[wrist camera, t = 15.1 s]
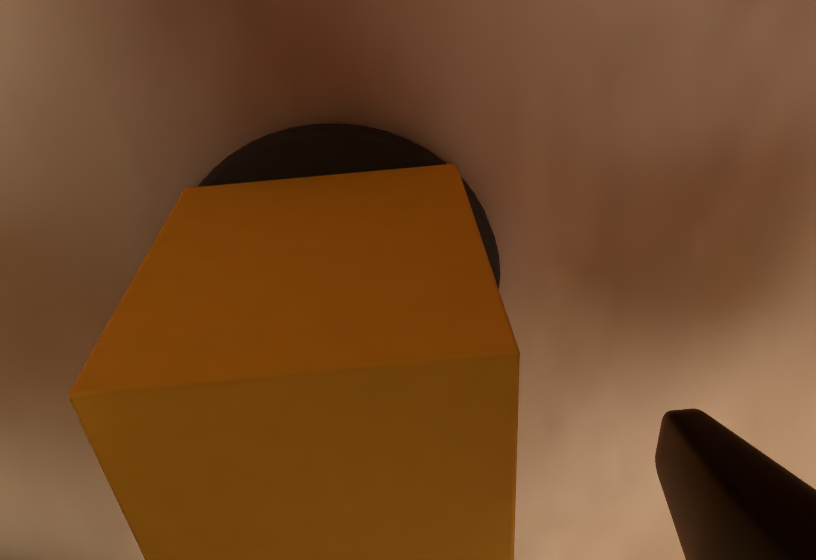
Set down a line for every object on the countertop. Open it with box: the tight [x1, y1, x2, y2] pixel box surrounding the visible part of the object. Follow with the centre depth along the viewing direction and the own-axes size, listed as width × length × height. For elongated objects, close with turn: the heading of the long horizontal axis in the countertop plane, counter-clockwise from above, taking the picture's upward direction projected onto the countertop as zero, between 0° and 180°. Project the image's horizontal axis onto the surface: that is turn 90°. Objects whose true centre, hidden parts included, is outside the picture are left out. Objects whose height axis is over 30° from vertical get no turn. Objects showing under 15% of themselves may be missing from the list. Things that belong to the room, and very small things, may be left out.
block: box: [69, 164, 520, 560], centre depth 10 cm, size 4×4×5 cm
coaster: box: [198, 124, 500, 290], centre depth 12 cm, size 6×6×1 cm
